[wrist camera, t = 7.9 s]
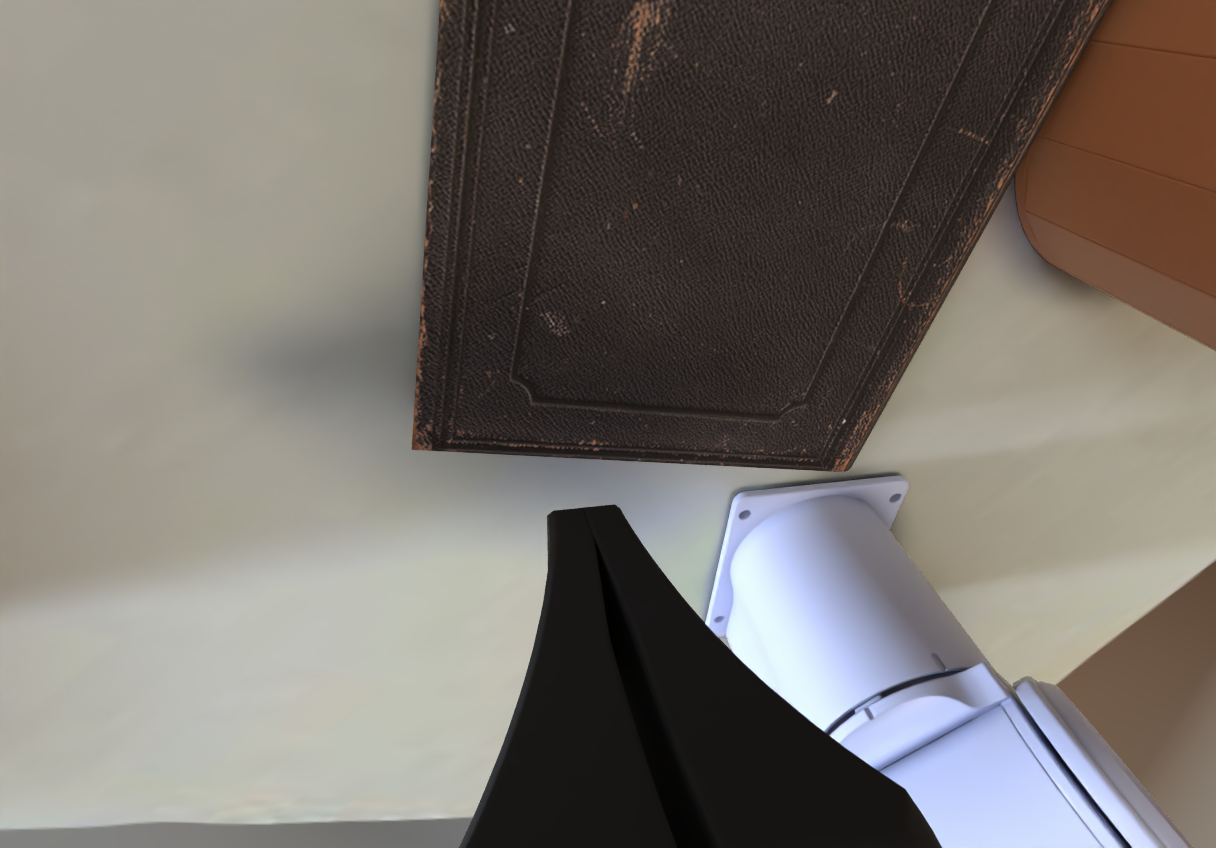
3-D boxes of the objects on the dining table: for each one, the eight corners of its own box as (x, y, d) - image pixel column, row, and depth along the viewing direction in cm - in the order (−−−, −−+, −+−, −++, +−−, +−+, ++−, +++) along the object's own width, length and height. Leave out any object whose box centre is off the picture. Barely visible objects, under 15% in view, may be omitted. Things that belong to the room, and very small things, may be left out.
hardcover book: (415, 407, 21) (411, 451, 19) (508, -1037, 8) (524, -1313, 6) (830, 436, 25) (859, 474, 24) (1297, -465, 13) (1435, -533, 11)
